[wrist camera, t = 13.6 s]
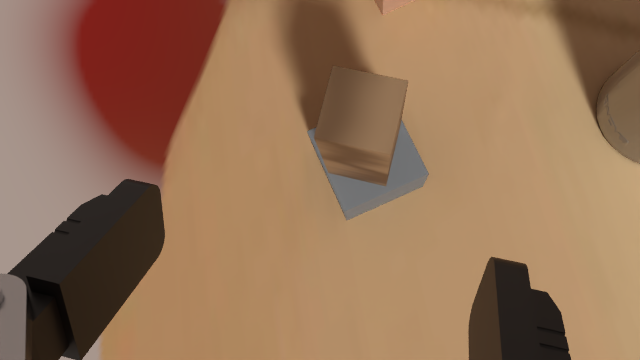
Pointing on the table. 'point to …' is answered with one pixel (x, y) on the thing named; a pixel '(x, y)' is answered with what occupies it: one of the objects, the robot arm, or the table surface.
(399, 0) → the pale pink block
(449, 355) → the table surface
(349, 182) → the slate gray block
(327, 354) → the table surface
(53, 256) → the robot arm
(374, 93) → the walnut block
